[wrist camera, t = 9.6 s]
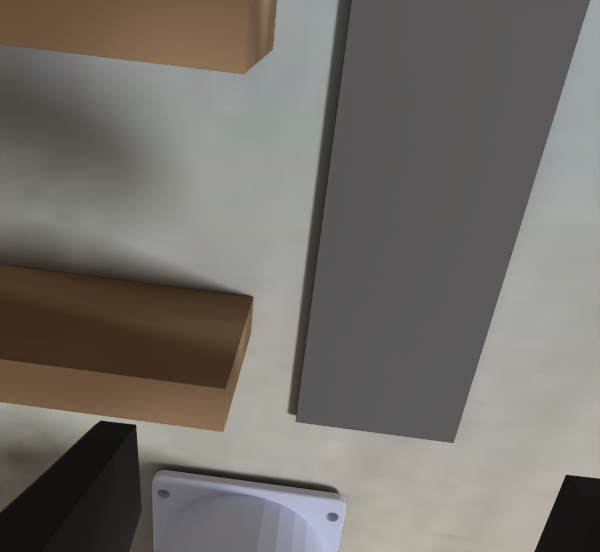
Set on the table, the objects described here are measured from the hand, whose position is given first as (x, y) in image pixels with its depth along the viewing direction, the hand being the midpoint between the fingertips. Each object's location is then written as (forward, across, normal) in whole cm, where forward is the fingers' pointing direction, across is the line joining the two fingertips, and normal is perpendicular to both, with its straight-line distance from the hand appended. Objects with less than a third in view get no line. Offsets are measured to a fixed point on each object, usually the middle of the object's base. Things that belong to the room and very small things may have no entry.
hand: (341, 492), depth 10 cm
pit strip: (+10, -2, -2) cm, 10 cm away
